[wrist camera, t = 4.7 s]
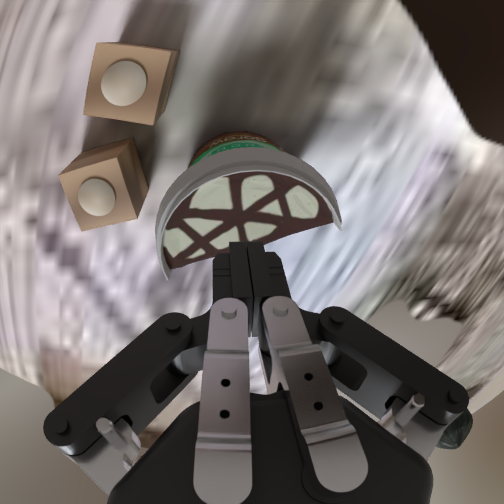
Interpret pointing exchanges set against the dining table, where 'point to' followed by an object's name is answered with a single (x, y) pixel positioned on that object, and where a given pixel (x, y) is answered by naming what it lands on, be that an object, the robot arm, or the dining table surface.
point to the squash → (456, 431)
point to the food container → (239, 200)
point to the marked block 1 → (130, 82)
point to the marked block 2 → (105, 185)
